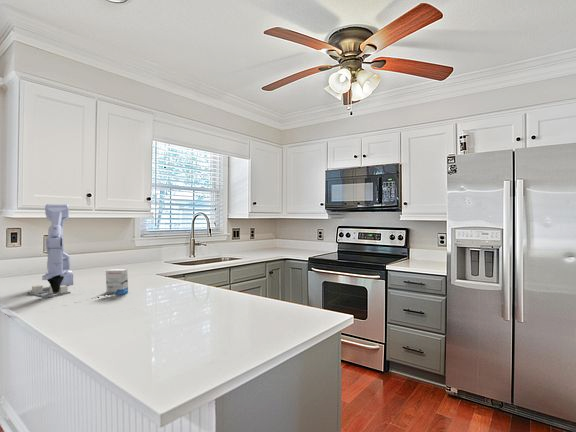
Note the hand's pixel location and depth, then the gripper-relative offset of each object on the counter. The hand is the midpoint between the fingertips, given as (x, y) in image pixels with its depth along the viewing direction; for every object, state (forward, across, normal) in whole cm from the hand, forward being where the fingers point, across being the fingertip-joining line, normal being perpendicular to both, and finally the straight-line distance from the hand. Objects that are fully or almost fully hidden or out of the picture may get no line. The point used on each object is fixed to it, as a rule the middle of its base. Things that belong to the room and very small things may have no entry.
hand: (55, 292), depth 161 cm
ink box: (+3, -7, +25) cm, 26 cm away
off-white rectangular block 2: (+1, -2, +2) cm, 3 cm away
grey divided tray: (+3, -3, -5) cm, 6 cm away
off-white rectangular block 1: (+1, -4, -11) cm, 12 cm away
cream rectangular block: (+1, -5, -4) cm, 7 cm away
